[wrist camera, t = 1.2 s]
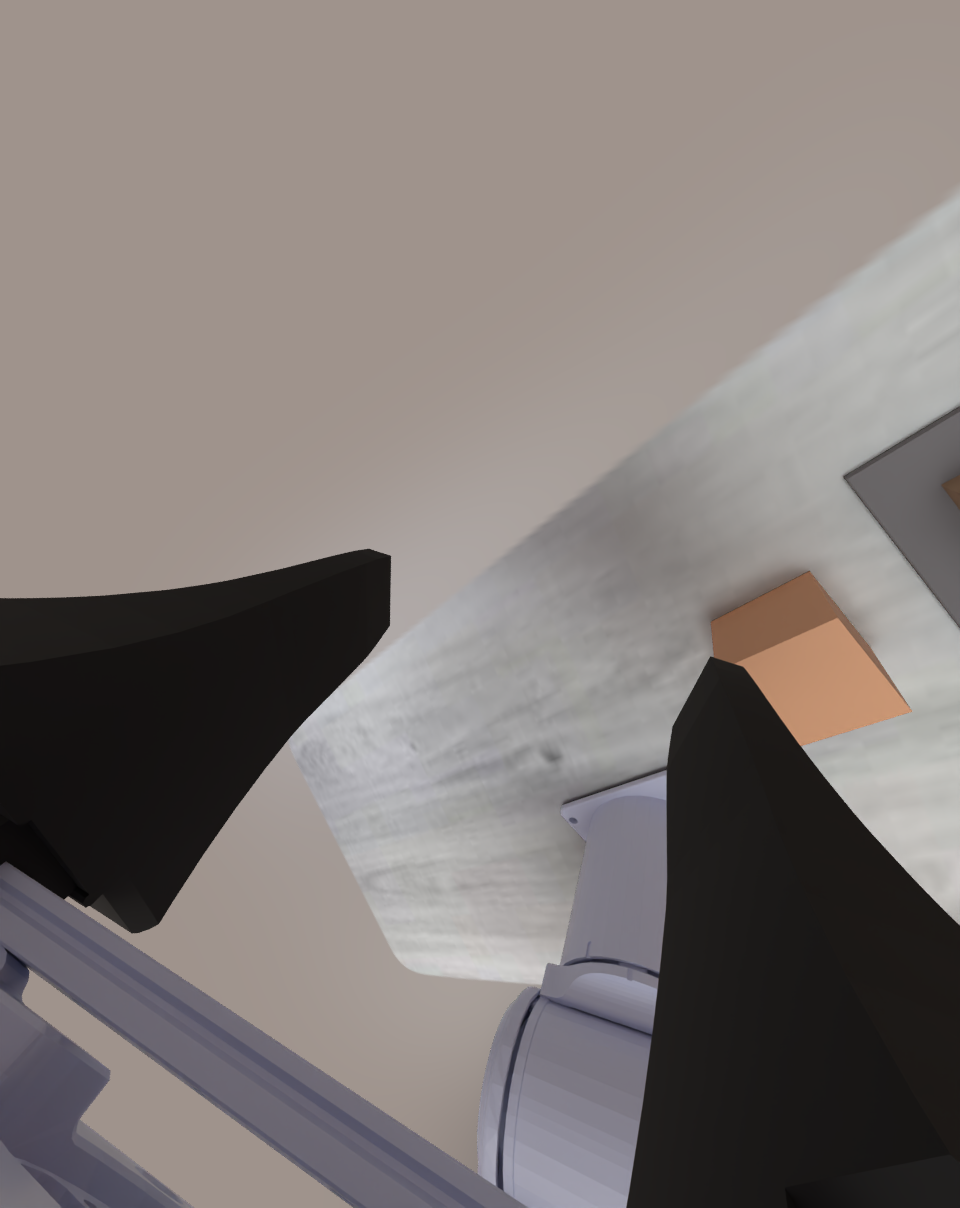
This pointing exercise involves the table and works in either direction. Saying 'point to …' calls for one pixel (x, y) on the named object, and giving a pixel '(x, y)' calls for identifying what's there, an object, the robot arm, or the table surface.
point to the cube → (808, 661)
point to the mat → (920, 504)
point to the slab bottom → (953, 490)
